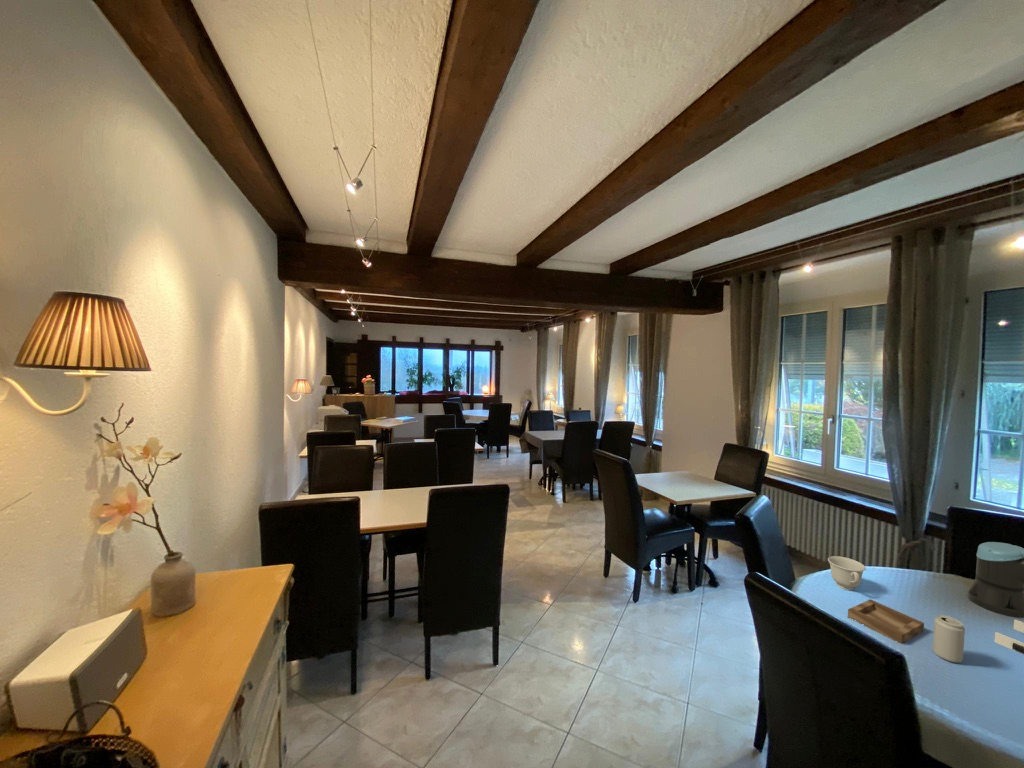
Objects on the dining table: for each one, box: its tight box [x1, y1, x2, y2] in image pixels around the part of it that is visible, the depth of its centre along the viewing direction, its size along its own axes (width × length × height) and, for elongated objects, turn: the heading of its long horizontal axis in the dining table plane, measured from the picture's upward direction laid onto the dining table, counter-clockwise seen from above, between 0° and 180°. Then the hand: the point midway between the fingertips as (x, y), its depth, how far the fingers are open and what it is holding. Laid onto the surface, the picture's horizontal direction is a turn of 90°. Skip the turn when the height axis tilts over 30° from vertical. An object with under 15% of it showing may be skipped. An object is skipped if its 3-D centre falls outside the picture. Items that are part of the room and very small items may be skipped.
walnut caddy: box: [847, 599, 925, 645], centre depth 140 cm, size 15×15×3 cm
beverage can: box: [932, 614, 966, 664], centre depth 125 cm, size 6×6×12 cm
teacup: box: [827, 555, 867, 591], centre depth 162 cm, size 12×15×10 cm
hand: (1004, 630), depth 113 cm, fingers open, 13 cm apart
